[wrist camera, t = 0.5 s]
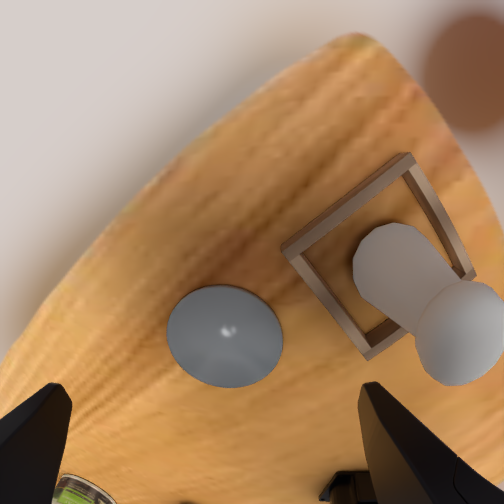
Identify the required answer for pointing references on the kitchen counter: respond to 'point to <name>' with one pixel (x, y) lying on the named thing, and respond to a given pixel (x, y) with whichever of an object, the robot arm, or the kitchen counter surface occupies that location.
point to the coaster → (225, 336)
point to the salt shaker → (431, 303)
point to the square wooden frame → (346, 207)
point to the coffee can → (79, 492)
